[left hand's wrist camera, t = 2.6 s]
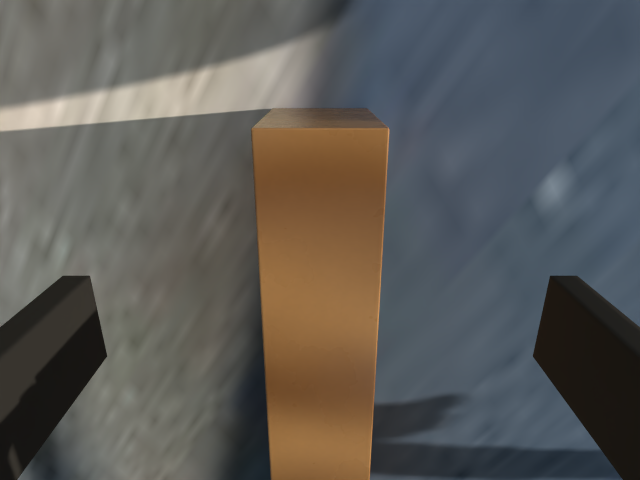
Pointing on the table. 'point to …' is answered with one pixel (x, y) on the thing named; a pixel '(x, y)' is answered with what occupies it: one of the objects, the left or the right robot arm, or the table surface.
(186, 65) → the table surface
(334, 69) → the table surface
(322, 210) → the plank
